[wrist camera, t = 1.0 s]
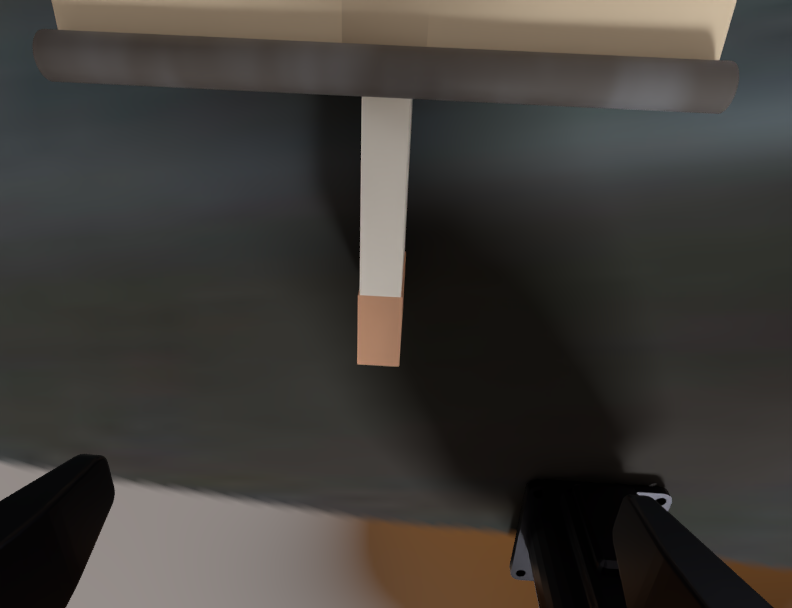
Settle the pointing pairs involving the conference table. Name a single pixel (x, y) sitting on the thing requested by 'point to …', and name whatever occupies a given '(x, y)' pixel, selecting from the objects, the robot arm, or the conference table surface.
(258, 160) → the conference table surface
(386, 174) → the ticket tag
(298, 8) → the tan box with rod
